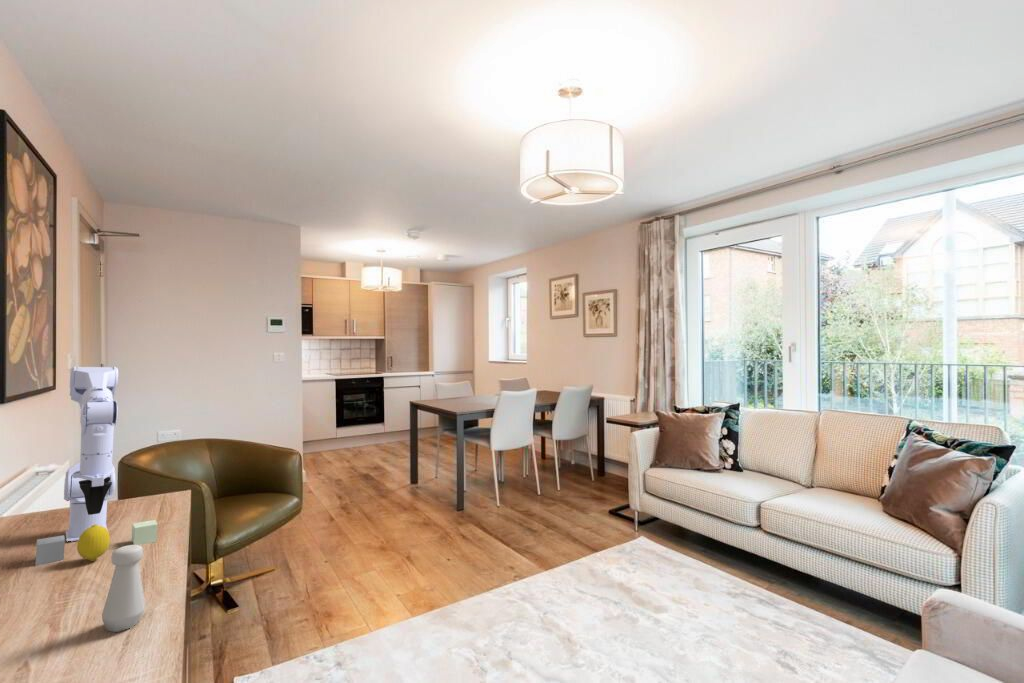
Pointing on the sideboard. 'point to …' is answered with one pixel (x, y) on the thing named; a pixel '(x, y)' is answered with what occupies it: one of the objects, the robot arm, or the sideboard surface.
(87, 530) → the lemon
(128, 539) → the sideboard surface
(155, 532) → the sage block
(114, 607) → the salt shaker
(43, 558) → the slate block
